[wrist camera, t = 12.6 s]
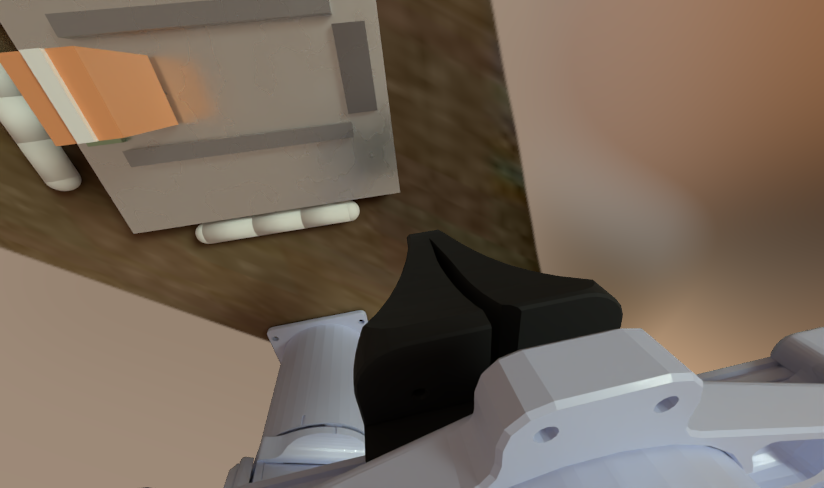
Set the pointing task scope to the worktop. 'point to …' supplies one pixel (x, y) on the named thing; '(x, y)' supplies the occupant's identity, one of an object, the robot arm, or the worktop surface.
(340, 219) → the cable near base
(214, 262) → the worktop surface
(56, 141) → the lever
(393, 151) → the breaker panel
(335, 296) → the worktop surface
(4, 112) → the rod
